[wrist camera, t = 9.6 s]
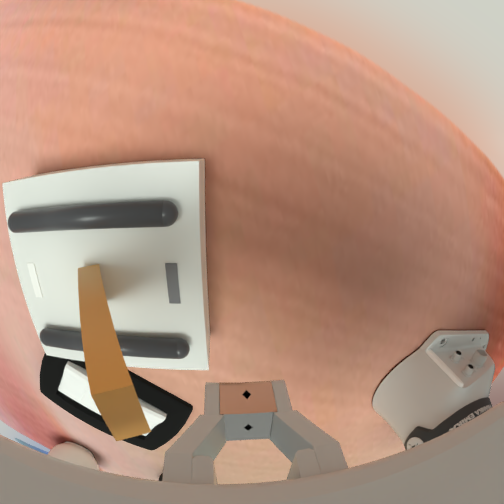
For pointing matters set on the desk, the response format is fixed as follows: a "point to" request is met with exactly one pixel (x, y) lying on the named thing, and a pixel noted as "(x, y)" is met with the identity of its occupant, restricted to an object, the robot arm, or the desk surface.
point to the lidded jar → (74, 454)
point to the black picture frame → (83, 407)
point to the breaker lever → (107, 360)
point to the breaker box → (117, 257)
